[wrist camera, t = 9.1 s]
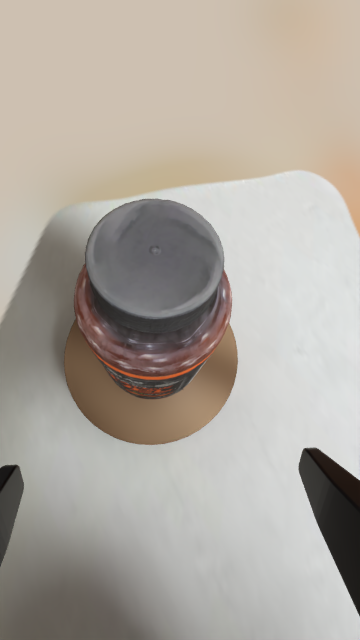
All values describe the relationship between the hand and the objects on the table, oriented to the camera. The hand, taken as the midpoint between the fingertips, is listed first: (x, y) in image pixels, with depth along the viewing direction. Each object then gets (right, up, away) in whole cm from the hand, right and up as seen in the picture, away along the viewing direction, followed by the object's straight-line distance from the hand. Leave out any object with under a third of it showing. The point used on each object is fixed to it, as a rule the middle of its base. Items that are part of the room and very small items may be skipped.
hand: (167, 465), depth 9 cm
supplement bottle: (-1, +2, +10) cm, 10 cm away
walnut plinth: (-2, +2, +12) cm, 12 cm away
